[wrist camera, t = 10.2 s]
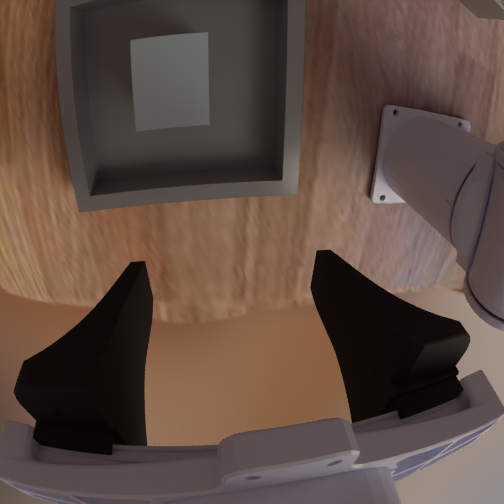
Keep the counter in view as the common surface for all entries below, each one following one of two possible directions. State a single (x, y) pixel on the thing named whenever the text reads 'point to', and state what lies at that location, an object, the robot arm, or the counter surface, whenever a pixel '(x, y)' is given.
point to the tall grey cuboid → (170, 81)
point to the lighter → (486, 8)
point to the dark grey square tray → (189, 137)
